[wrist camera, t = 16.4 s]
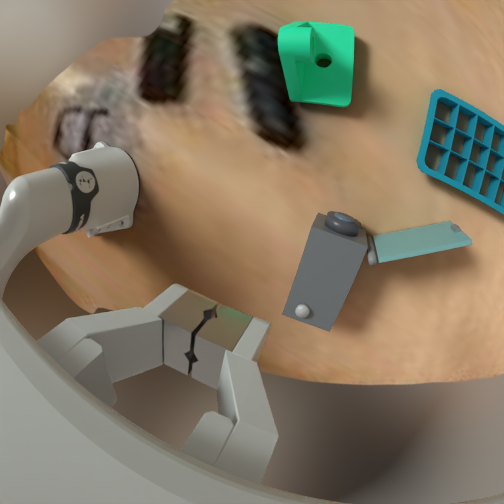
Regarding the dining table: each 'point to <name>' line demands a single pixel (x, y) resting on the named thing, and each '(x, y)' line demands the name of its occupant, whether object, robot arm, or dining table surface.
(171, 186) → the dining table surface
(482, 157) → the ice cube tray
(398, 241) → the side door
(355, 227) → the action camera
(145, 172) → the dining table surface
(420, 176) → the dining table surface
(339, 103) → the camera mount
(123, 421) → the robot arm
